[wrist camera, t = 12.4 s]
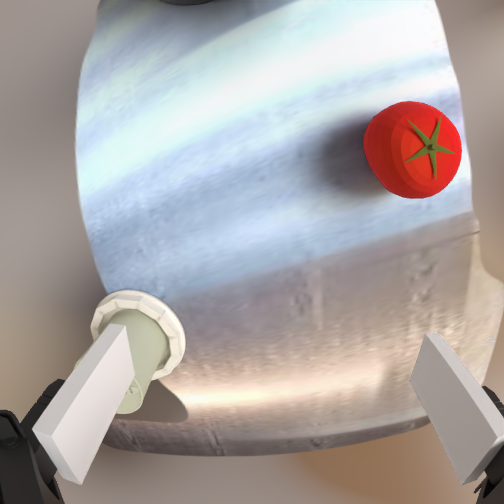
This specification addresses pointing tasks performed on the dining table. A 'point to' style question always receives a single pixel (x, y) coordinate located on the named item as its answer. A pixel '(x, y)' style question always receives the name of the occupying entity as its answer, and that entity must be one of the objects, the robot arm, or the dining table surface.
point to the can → (138, 353)
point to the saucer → (151, 308)
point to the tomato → (412, 149)
